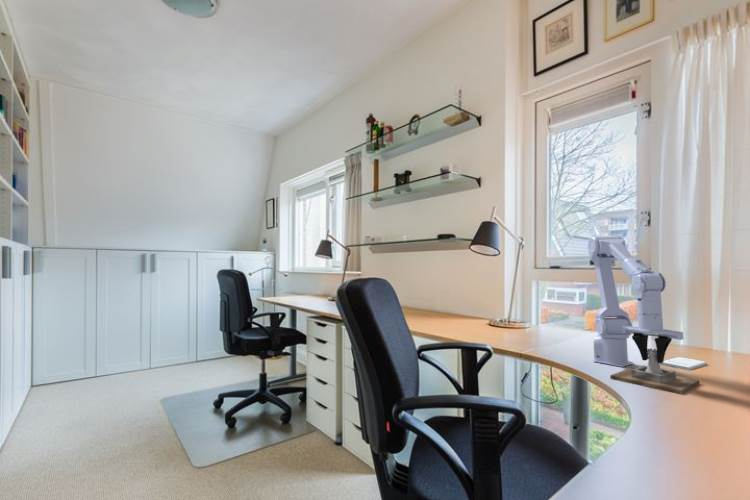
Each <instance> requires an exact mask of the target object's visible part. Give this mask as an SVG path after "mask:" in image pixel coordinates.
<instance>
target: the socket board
mask: <svg viewBox="0 0 750 500" xmlns="http://www.w3.org/2000/svg"><path fill="white" fill-rule="evenodd" d="M647 367H648V365H641V366H639V367H628V368H625V369H623V370H621V371H618V372H616V373H613V374H610V376H609V377H610V379H611V380H616V381H620V382H623V383H624V382H625V383H628V384H632V385H638V386H643V387H647V388H650V389H651V388H652V389H655V390H656V389H657V390H661V391H666V392H669V393H675V394H680V395H683V394H685V393H686V392H688V391H690V390H691V389H693V388H694V387H695V388H696V387H697V386H698V385H700V384H701V381H700V379H696V378H690V377H689V378H688V377H685V376H679V375H676V371H675V370H670V369H664V368H661V369H662V371H663V373H664V374H662V375H659V374H654V373H649V372H645V371H646V369H647Z"/></svg>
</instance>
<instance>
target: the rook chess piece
mask: <svg viewBox="0 0 750 500" xmlns="http://www.w3.org/2000/svg"><path fill="white" fill-rule="evenodd" d="M647 350H648V351H647V352H646V353H647V354H648V362H647V363H648V364H647V366H648V367H647V369H646V371H645V372H649V373H654V374H659V375H662V374H664V373H663V371H662V369H663V368H661V365H659V363H658V361H657V348H653V349H652V348H647Z"/></svg>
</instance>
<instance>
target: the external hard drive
mask: <svg viewBox="0 0 750 500" xmlns="http://www.w3.org/2000/svg"><path fill="white" fill-rule="evenodd" d="M659 365H660V366H664V365H665V366H664V367H669V368H670V367H671V368H676V369H679V368H680V369H681V370H685V371H691V370H693V369H697V368H700V367H701V368H702V367H705V366H707V365H708V362H707V361H703V360H698V359H691V358H685V357H681V356H678V357H674V358H670V359H667V360H664V361H663V363H659Z"/></svg>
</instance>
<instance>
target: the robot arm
mask: <svg viewBox="0 0 750 500" xmlns="http://www.w3.org/2000/svg"><path fill="white" fill-rule="evenodd" d="M587 250H588V254H589V259H590V261H591V262H593V263H594V268H595V274H596V279H597V286H598V290H599V298H600V301H601V307H602V308H601V309H600V310H599V311H598V312H597V313H596V314H595V315H594V317H595V319H594V320H595V323H594V327H595V331H596V332H597V334H598V335H596V336H595V337H594V339H593V357H594V358H593V361H592V362H594V363H601V364H604V365H610V366H615V367H622V368H624V367H627V366H629V365H632V364H634V362H633V361H631V360H629V355H628V339H629V338H630V336H631V335H632V334H633V335H632V336H631V339H632V341H633V342H634V343H635V345H636V347H637V349H638V350H639V353H640V356H641V359H642V360H641V361H649V359H648V356H649V355H648V354H647V353H646V352H647V351H648V342H649V336H650V337H654V342H655V346H656V348H655V349H657V361H658V363H663V361H665V355H666V353H667V352H666V351H667V349H668V347H669V346H670V344H671V342H672V340H673V339H675V340H678V341H682V340H684V332H683V331H676V330H669V329H664V324H663V323H664V320H663V304H662V293H663V292H664V291H665V289H666V283H667V281H666V278H665V277H664V275H663V274H662V273H661V272H657V271H652V270H651V269H650V268H649V267H648V266H647V265H646V264H645V263H644V262H643V261H642V259H641V258H639V257H633V255H632V254H631V253H630V251H628V249H627V248H626V240H625V239H624V237H623V236H621V235H612V236H592V237H590V239H589V241H588V244H587ZM615 261H618V262H620V263H621V264H622V265H621V270H622V271H623V272H624V273H625V275H626V276H627V277H628V278H629V279H630V280H631V287H632V290H633V292H634V297H635V299H637V300H636V301H637V302H636V303H637V320H638V326H633V323H632V321H631V319H630V316H629V313H628V312H627V311H625V310H623V309H622V308H620V304H619V298H618V294H617V289H616V288H617V287H616V283H615V277H614V273H613V268H612V263H614V262H615Z"/></svg>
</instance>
